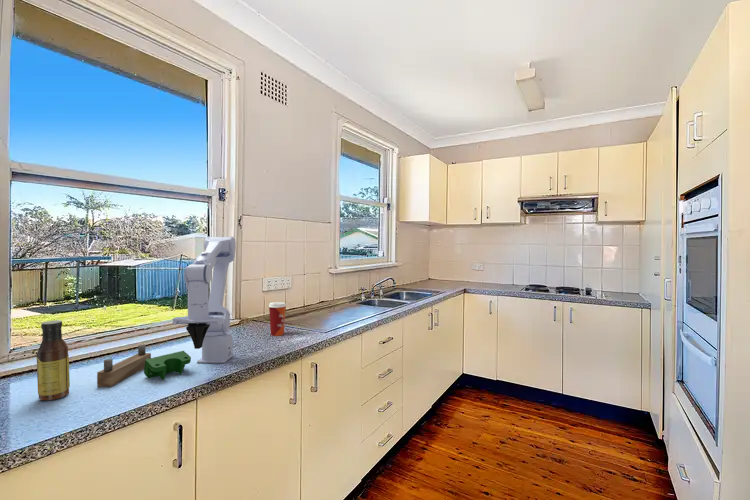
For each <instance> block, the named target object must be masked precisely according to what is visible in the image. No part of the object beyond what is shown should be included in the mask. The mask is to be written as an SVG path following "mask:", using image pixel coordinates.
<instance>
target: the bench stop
mask: <svg viewBox="0 0 750 500" xmlns="http://www.w3.org/2000/svg"><path fill="white" fill-rule="evenodd" d="M149 358H152V353H151V352H146V344H144V343H143V344H138V346H137V353H136V354H134V355H132V356H129V357H127V358H125V359H123V360H121V361H118V362H117V363H113V359H112V358H108V359H107V358H106V359H104V360H103V369H101V370H99V371H97V372H96V377H97V378H96V381H97V382H96V384H97V385H96V386H97V388H98V387H101V388H103V387H108V388H109V387H110V388H111V387H114V386H115V385H117V384H119V383H122V382H123V381H125V380H126V379H128V378H130V377H132V376H133V375H136V374H137V373H139V372H141V371H144V367H145V359H149Z"/></svg>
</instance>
